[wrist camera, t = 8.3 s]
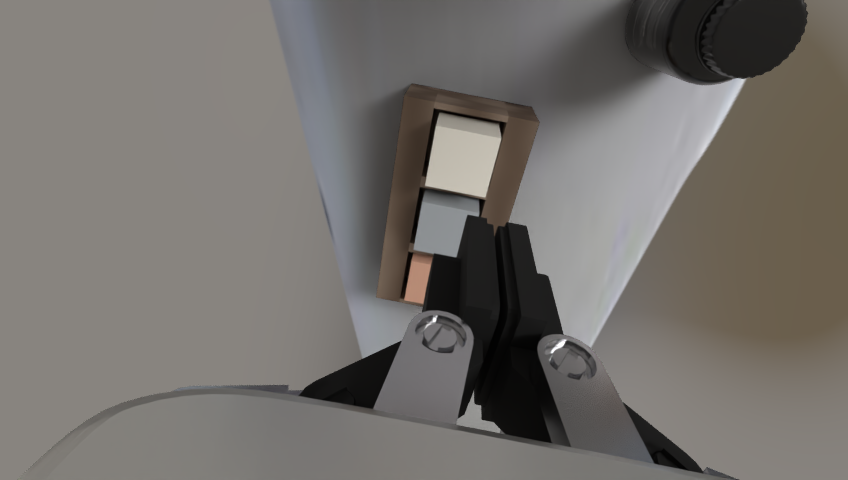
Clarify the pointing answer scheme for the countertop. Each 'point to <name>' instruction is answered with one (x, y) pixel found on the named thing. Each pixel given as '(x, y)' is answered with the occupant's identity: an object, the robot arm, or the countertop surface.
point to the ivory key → (463, 154)
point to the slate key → (443, 221)
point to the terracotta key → (418, 278)
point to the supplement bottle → (714, 36)
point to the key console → (410, 187)
